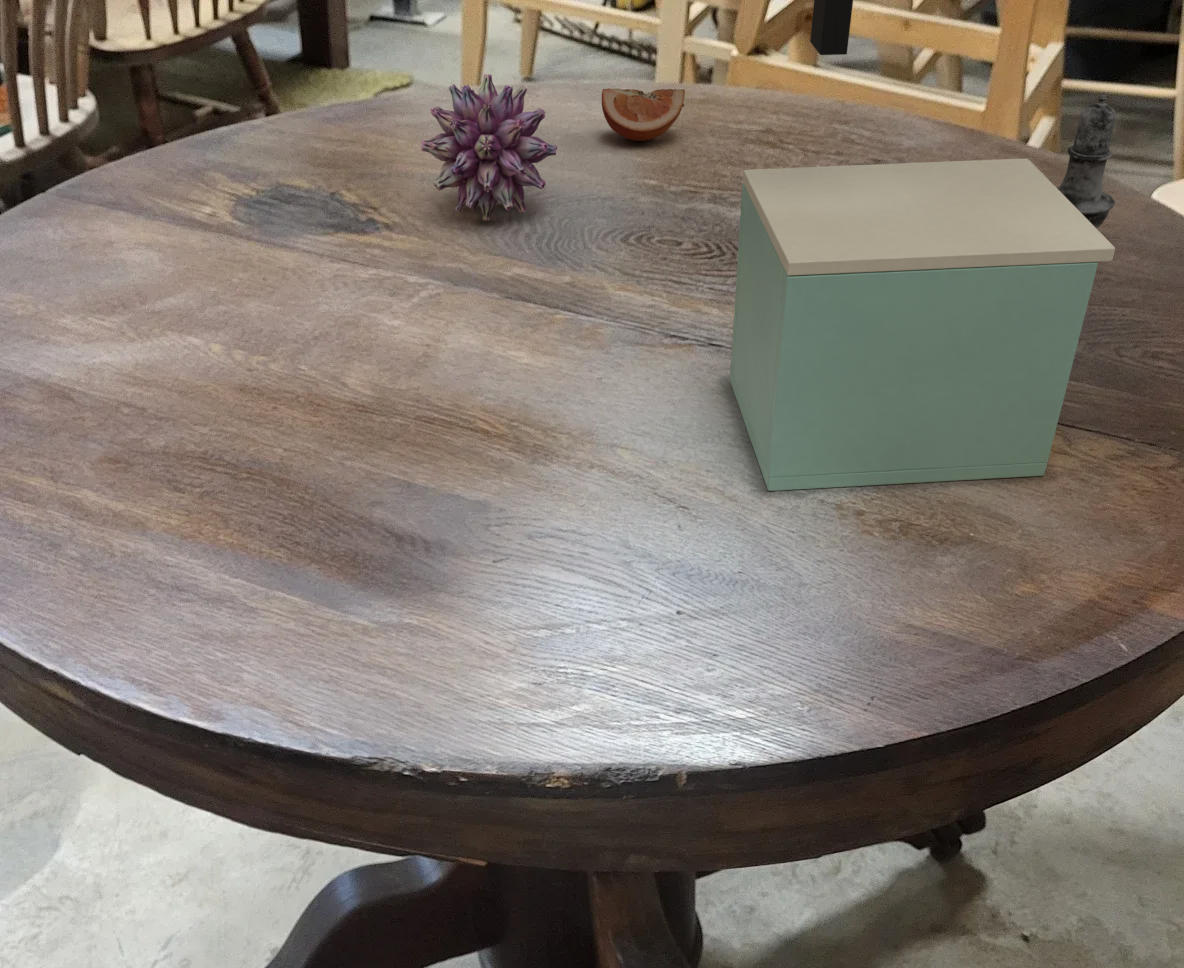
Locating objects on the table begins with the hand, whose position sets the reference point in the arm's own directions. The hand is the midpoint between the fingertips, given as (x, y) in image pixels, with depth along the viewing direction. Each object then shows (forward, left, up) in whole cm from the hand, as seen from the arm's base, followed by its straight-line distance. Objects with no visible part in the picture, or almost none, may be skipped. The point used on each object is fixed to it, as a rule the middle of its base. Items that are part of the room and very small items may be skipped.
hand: (828, 47), depth 72 cm
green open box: (-6, -2, -24) cm, 25 cm away
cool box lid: (-6, -2, -10) cm, 12 cm away
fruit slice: (+27, -53, -24) cm, 65 cm away
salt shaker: (-16, -39, -24) cm, 49 cm away
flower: (+34, -30, -24) cm, 52 cm away
